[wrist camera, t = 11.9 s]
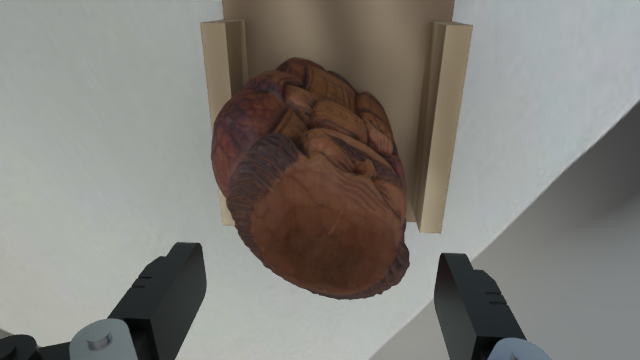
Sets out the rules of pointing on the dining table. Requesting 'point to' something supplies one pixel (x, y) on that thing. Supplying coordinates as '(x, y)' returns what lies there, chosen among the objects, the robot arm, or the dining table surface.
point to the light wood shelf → (359, 72)
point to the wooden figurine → (314, 180)
